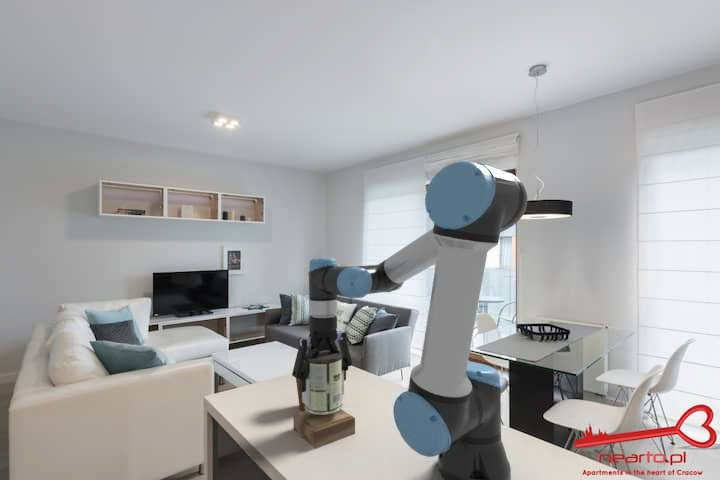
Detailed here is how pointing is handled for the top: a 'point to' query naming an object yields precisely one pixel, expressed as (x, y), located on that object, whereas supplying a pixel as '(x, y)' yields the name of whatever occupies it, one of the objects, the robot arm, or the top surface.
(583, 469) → the top surface
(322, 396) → the coffee can
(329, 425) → the stand
